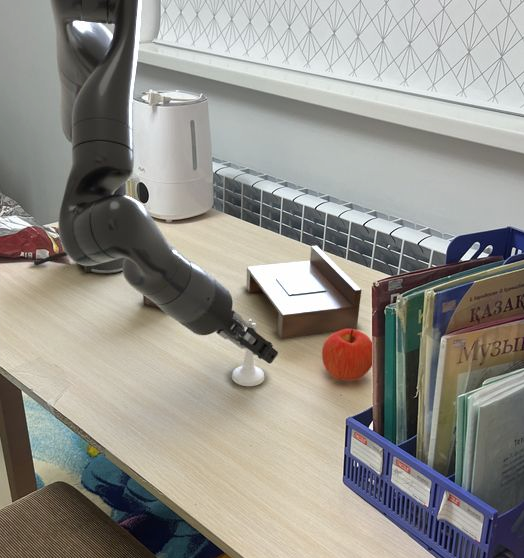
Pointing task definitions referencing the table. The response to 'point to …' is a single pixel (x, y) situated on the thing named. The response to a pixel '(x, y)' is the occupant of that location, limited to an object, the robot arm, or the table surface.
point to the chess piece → (248, 369)
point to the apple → (347, 354)
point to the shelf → (308, 295)
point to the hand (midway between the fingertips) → (257, 346)
